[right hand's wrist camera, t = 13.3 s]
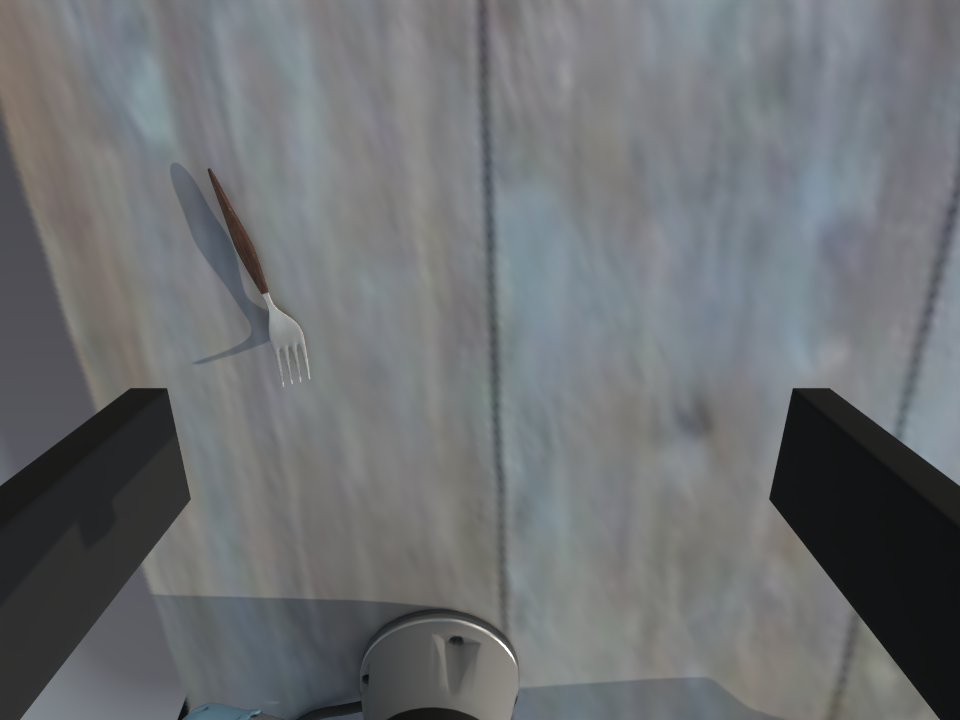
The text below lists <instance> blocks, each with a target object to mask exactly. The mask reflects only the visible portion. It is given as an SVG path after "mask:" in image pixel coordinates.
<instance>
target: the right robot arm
mask: <svg viewBox="0 0 960 720" xmlns="http://www.w3.org/2000/svg"><path fill="white" fill-rule="evenodd" d="M190 500H191V498H190V493H189V489H188V484H187V479H186V475H185V470H184V465H183V461H182V456H181V451H180V447H179V442H178V437H177V433H176V428H175V423H174V419H173V414H172V409H171V405H170V400H169V395H168V391H167V388H130V389H129V390H128V391H126V392H125V393H124V394H122V395H121V396H120V397H118V398H117V399H116V400H114V401H113V402H112V403H110V404H109V405H108V406H106V407H105V408H104V409H102V410H101V411H100V412H98V413H97V414H96V415H94V416H93V417H92V418H90V419H89V420H88V421H86V422H85V423H84V424H82V425H81V426H80V427H78V428H77V429H76V430H74V431H73V432H72V433H70V434H69V435H68V436H66V437H65V438H64V439H62V440H61V441H60V442H58V443H57V444H56V445H54V446H53V447H52V448H50V449H49V450H48V451H46V452H45V453H44V454H42V455H41V456H40V457H38V458H37V459H36V460H35V461H33V462H32V463H31V464H29V465H28V466H26V467H25V468H24V469H23V470H21V471H20V472H18V473H17V474H16V475H15V476H13V477H12V478H10V479H9V480H8V481H7V482H5V483H4V484H3V485H1V486H0V720H20V719H21V718H22V716H23V715H24V714H25V712H26V711H27V710H28V709H29V707H30V706H31V705H32V703H33V702H34V701H35V700H36V698H37V697H38V696H39V694H40V693H41V692H42V691H43V689H44V688H45V687H46V685H47V684H48V683H49V681H50V680H51V679H52V678H53V676H54V675H55V674H56V672H57V671H58V670H59V669H60V667H61V666H62V665H63V663H64V662H65V661H66V660H67V658H68V657H69V656H70V654H71V653H72V652H73V650H74V649H75V648H76V647H77V645H78V644H79V643H80V641H81V640H82V639H83V638H84V636H85V635H86V634H87V632H88V631H89V630H90V629H91V627H92V626H93V625H94V623H95V622H96V621H97V619H98V618H99V617H100V616H101V614H102V613H103V612H104V610H105V609H106V608H107V607H108V605H109V604H110V603H111V601H112V600H113V599H114V598H115V596H116V595H117V594H118V592H119V591H120V590H121V589H122V587H123V586H124V585H125V583H126V582H127V581H128V580H129V578H130V577H131V576H132V574H133V573H134V572H135V570H136V569H137V568H138V567H139V565H140V564H141V563H142V561H143V560H144V559H145V558H146V556H147V555H148V554H149V552H150V551H151V550H152V549H153V547H154V546H155V545H156V543H157V542H158V541H159V540H160V538H161V537H162V536H163V534H164V533H165V532H166V530H167V529H168V528H169V527H170V525H171V524H172V523H173V521H174V520H175V519H176V518H177V516H178V515H179V514H180V512H181V511H182V510H183V509H184V507H185V506H186V505H187V503H188V502H189V501H190ZM769 500H770V501H771V502H772V503H773V505H774V506H775V507H776V509H777V510H778V511H779V512H780V514H781V515H782V516H783V518H784V519H785V520H786V521H787V523H788V524H789V525H790V527H791V528H792V529H793V530H794V532H795V533H796V534H797V536H798V537H799V538H800V540H801V541H802V542H803V543H804V545H805V546H806V547H807V549H808V550H809V551H810V552H811V554H812V555H813V556H814V558H815V559H816V560H817V561H818V563H819V564H820V565H821V567H822V568H823V569H824V570H825V572H826V573H827V574H828V576H829V577H830V578H831V580H832V581H833V582H834V583H835V585H836V586H837V587H838V589H839V590H840V591H841V592H842V594H843V595H844V596H845V598H846V599H847V600H848V601H849V603H850V604H851V605H852V607H853V608H854V609H855V610H856V612H857V613H858V614H859V616H860V617H861V618H862V620H863V621H864V622H865V623H866V625H867V626H868V627H869V629H870V630H871V631H872V632H873V634H874V635H875V636H876V638H877V639H878V640H879V641H880V643H881V644H882V645H883V647H884V648H885V649H886V650H887V652H888V653H889V654H890V656H891V657H892V658H893V660H894V661H895V662H896V663H897V665H898V666H899V667H900V669H901V670H902V671H903V672H904V674H905V675H906V676H907V678H908V679H909V680H910V681H911V683H912V684H913V685H914V687H915V688H916V689H917V691H918V692H919V693H920V694H921V696H922V697H923V698H924V700H925V701H926V702H927V703H928V705H929V706H930V707H931V709H932V710H933V711H934V712H935V714H936V715H937V716H938V718H939V719H940V720H960V486H959V485H958V484H956V483H955V482H954V481H952V480H951V479H950V478H948V477H947V476H946V475H944V474H943V473H942V472H940V471H939V470H938V469H936V468H935V467H934V466H932V465H931V464H930V463H928V462H927V461H926V460H924V459H923V458H922V457H920V456H919V455H918V454H916V453H915V452H914V451H912V450H911V449H910V448H908V447H907V446H906V445H904V444H903V443H902V442H900V441H899V440H898V439H896V438H895V437H894V436H892V435H891V434H890V433H888V432H887V431H886V430H884V429H883V428H882V427H880V426H879V425H878V424H876V423H875V422H874V421H872V420H871V419H870V418H868V417H867V416H866V415H864V414H863V413H862V412H860V411H859V410H858V409H856V408H855V407H854V406H852V405H851V404H850V403H848V402H847V401H846V400H844V399H843V398H842V397H840V396H839V395H838V394H836V393H835V392H834V391H832V390H831V389H830V388H793V391H792V395H791V400H790V405H789V409H788V414H787V419H786V423H785V428H784V433H783V437H782V442H781V447H780V451H779V456H778V461H777V465H776V470H775V475H774V479H773V484H772V489H771V493H770V498H769ZM518 689H519V669H518V660H517V656H516V653H515V651H514V649H513V647H512V645H511V644H510V642H509V641H508V640H507V638H506V637H505V636H504V635H503V634H502V633H501V632H500V631H499V630H497V629H496V628H495V627H494V626H492V625H490V624H489V623H487V622H485V621H483V620H482V619H479V618H477V617H474V616H471V615H468V614H465V613H461V612H455V611H447V610H430V611H421V612H416V613H412V614H409V615H406V616H403V617H401V618H398V619H396V620H394V621H392V622H390V623H389V624H387V625H386V626H384V627H383V628H382V629H381V630H380V631H378V632H377V633H376V634H375V636H374V637H373V638H372V639H371V641H370V642H369V644H368V646H367V648H366V650H365V653H364V656H363V661H362V665H361V670H360V695H361V701H358V702H353V703H348V704H343V705H337V706H330V707H325V708H320V709H317V710H314V711H312V712H309V713H307V714H305V715H304V716H302V717H300V718H298V719H297V720H320V719H323V718H328V717H334V716H342V715H347V714H352V713H357V712H362V711H363V716H364V720H511V716H512V712H513V708H514V706H515V703H516V701H517V697H518ZM519 698H520V697H519ZM189 711H190V709H189V705H188V702H187V698H185V701H184V703H183V706H182V709H181V711H180V714H179V717H178V719H177V720H283V719H279V718H276V717H273V716H269V715H266V714H263V713H262V711H261V710H258V709H254V710H250V711H248V710H243V709H239V708H235V707H230V706H226V705H221V704H216V703H210V704H205V705H202V706H200V707H198V708H196V709H194V710H193V711H191V712H190V713H189Z"/></svg>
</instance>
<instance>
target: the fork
mask: <svg viewBox="0 0 960 720" xmlns="http://www.w3.org/2000/svg"><path fill="white" fill-rule="evenodd" d="M208 172H209V176H210V179H211V181H212V184H213V187H214V190H215V193H216V195H217V198H218V201H219V203H220V206H221V209H222V212H223V214H224V217H225V220H226V223H227V226H228V229H229V232H230V235H231V237H232V240H233V243H234V245H235V248H236V250H237V252H238V254H239V256H240V258H241V260H242V262H243V263H244V265H245V267H246V268H247V270H248V272H249V274H250V275H251V277H252V279H253V280H254V282H255V284H256V285H257V287H258V289H259V291H260V292H261V294H262V296H263V297H264V299H265V301H266V303H267V306H268V309H269V337H270V341H271V345H272V347H273V350H274V353H275V357H276V360H277V364H278V369H279V373H280V377H281V381H282V386H283V387H284V381H283V373H282V365H281V359H280V350H282V351H283V353H284V356H285V360H286V364H287V368H288V372H289V376H290V380H291V384H293V382H292V373H291V366H290V359H289V352H288V349H289V347H290V348H291V349H292V352H293V355H294V359H295V363H296V367H297V371H298V375H299V379H300V382H301V374H300V366H299V359H298V353H297V345H299V346H300V347H301V350H302V354H303V358H304V362H305V365H306V369H307V374H308V379H310V374H309V366H308V359H307V353H306V347H305V341H304V336H303V333H302V330H301V328H300V327H299V325H298V324H297V323H296V322H295V321H294V320H293V319H291V318H290V317H289V316H287V315H286V314H284V313H283V312H281V311H280V310H278V309H277V308H276V307H275V306H274V304H273V302H272V300H271V298H270V295H269V292H268V289H267V286H266V283H265V279H264V276H263V273H262V270H261V267H260V264H259V261H258V258H257V255H256V252H255V250H254V247H253V245H252V243H251V241H250V239H249V237H248V235H247V234H246V232H245V230H244V228H243V226H242V225H241V223H240V221H239V219H238V218H237V216H236V214H235V212H234V211H233V209H232V207H231V205H230V203H229V201H228V199H227V197H226V196H225V194H224V192H223V190H222V188H221V186H220V184H219V182H218V181H217V179H216V177H215V175H214V174H213V172H212V170H211V169H208Z"/></svg>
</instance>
